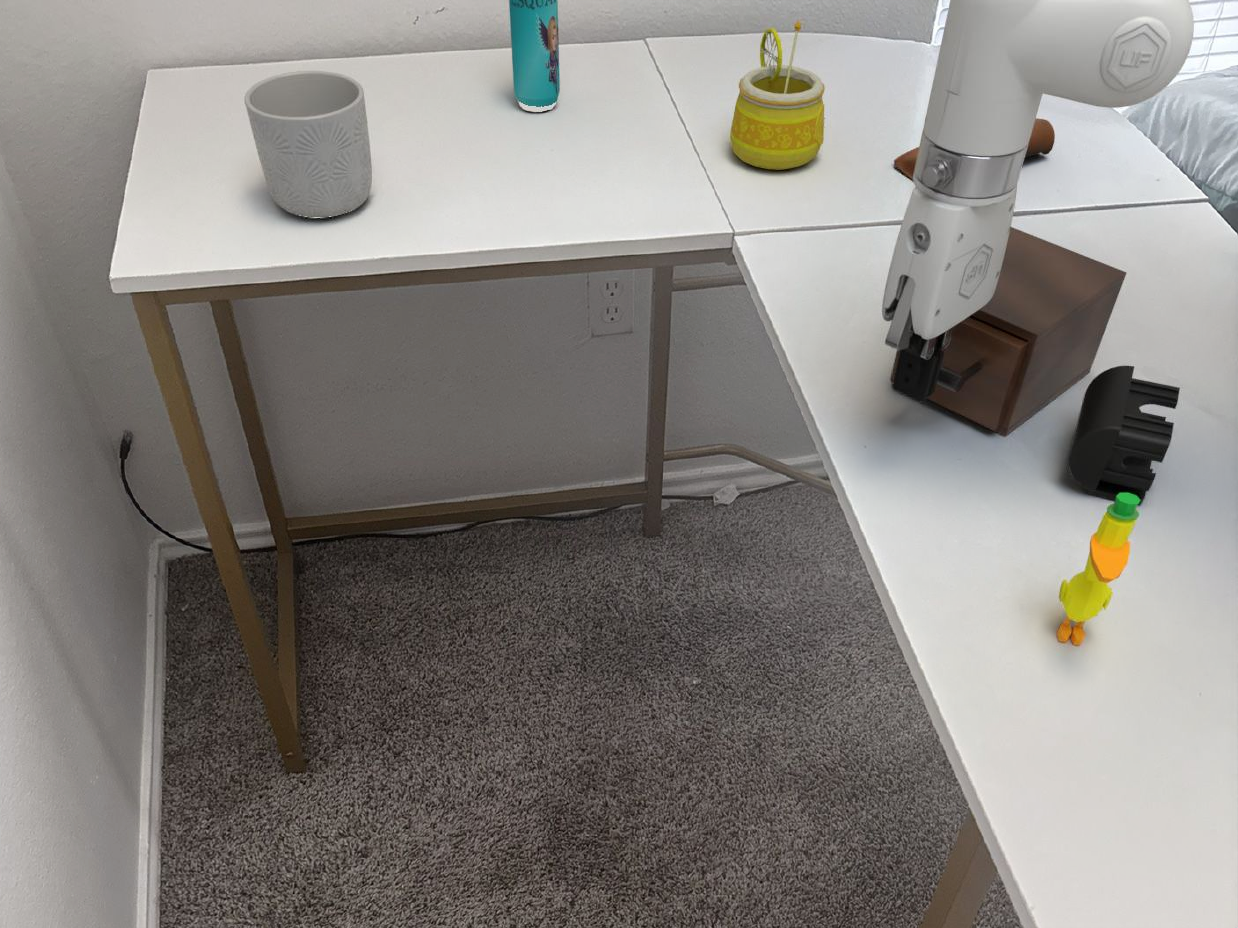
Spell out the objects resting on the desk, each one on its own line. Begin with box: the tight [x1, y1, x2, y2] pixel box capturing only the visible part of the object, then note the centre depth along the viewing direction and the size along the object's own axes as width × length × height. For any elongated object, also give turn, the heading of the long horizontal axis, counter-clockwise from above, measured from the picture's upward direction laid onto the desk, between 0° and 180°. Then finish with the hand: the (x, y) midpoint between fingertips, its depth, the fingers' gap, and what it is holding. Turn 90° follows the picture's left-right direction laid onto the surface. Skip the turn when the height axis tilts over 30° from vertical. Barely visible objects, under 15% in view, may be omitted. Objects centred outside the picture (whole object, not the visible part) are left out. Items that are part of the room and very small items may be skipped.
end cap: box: [1067, 365, 1181, 506], centre depth 97 cm, size 10×7×7 cm
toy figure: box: [1056, 493, 1140, 646], centre depth 82 cm, size 7×4×12 cm, turn 164°
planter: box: [244, 70, 373, 217], centre depth 124 cm, size 12×12×11 cm
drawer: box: [889, 315, 1028, 432], centre depth 102 cm, size 18×11×8 cm, turn 135°
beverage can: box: [508, 0, 561, 107], centre depth 138 cm, size 6×6×15 cm
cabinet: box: [890, 226, 1127, 437], centre depth 104 cm, size 15×13×10 cm
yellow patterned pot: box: [729, 21, 826, 171], centre depth 132 cm, size 13×11×12 cm
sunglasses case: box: [893, 117, 1056, 182], centre depth 133 cm, size 18×7×7 cm, turn 121°
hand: (912, 391), depth 98 cm, fingers closed
